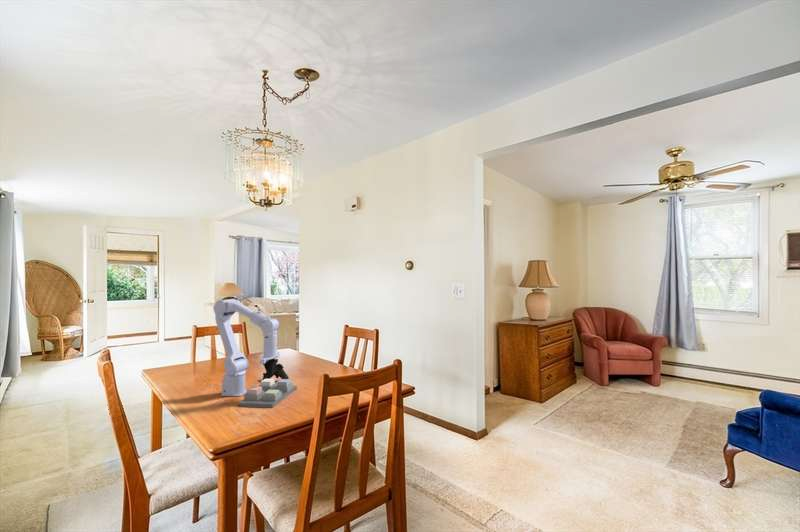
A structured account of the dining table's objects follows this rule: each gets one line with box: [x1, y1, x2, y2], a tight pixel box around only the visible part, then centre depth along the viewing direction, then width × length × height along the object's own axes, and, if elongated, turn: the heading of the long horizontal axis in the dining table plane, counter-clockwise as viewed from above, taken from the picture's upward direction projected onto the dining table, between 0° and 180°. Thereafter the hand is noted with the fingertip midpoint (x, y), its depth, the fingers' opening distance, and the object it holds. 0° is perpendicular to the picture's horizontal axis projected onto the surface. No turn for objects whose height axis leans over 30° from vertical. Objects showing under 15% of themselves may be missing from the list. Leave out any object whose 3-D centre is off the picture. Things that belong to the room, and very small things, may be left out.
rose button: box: [246, 385, 262, 395], centre depth 160 cm, size 5×5×2 cm
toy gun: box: [262, 363, 290, 380], centre depth 191 cm, size 2×13×10 cm
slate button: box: [276, 378, 292, 387], centre depth 171 cm, size 5×5×2 cm
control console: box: [238, 382, 298, 408], centre depth 165 cm, size 15×25×4 cm, turn 173°
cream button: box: [260, 378, 276, 386], centre depth 172 cm, size 5×5×2 cm
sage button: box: [264, 390, 279, 395], centre depth 159 cm, size 5×5×2 cm
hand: (270, 376), depth 166 cm, fingers closed
